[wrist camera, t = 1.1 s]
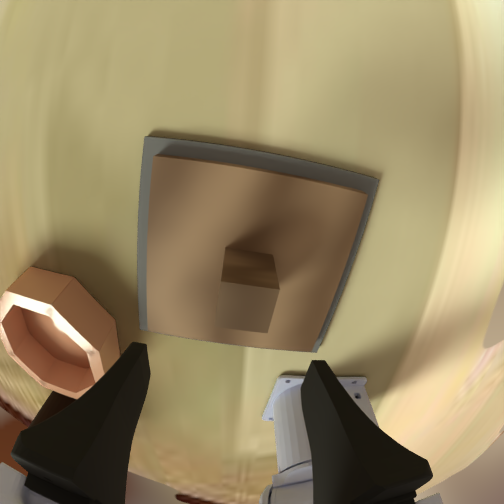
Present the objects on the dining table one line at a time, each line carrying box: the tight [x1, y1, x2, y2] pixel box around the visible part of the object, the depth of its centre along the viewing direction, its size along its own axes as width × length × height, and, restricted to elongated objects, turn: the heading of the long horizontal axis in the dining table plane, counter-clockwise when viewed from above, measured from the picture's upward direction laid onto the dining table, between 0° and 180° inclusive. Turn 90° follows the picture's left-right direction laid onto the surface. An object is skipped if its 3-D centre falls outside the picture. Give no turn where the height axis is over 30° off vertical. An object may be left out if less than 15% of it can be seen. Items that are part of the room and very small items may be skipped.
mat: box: [137, 136, 379, 353], centre depth 20 cm, size 15×15×1 cm
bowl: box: [0, 267, 121, 399], centre depth 21 cm, size 12×12×4 cm
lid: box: [147, 154, 368, 352], centre depth 18 cm, size 13×13×5 cm
